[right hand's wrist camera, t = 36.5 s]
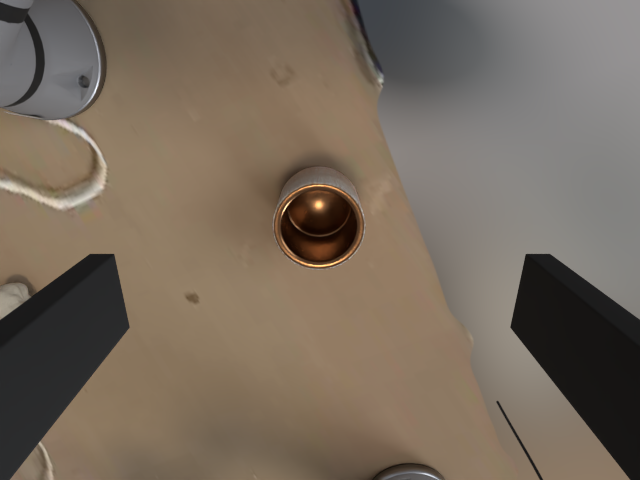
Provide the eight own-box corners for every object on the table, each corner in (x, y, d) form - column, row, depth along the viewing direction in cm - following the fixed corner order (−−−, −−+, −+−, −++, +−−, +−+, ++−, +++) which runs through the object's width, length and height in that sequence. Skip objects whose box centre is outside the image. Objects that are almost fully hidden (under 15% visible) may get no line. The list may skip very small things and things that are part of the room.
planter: (374, 210, 54) (385, 235, 45) (313, 255, 57) (311, 287, 48) (325, 148, 51) (326, 161, 42) (263, 198, 53) (251, 221, 44)
